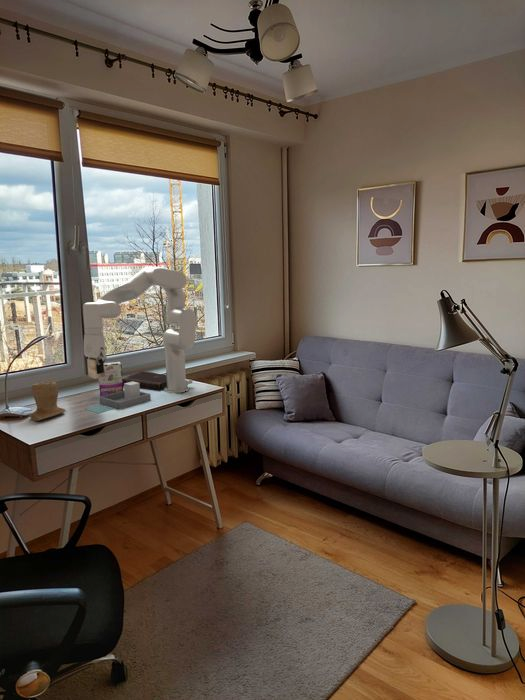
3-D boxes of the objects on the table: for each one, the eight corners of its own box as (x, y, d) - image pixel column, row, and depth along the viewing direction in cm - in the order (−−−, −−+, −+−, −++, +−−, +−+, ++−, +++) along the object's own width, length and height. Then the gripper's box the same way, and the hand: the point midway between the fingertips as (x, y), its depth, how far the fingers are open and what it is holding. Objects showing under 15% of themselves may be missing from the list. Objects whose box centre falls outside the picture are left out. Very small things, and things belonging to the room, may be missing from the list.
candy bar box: (122, 393, 248) (120, 361, 245) (124, 396, 243) (121, 363, 240) (99, 395, 244) (96, 363, 241) (100, 398, 239) (97, 365, 236)
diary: (159, 393, 250) (158, 383, 249) (120, 388, 261) (119, 378, 260) (180, 384, 267) (180, 375, 266) (143, 379, 277) (142, 370, 276)
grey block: (133, 397, 239) (132, 381, 237) (140, 399, 236) (139, 383, 234) (124, 400, 235) (123, 383, 233) (131, 401, 232) (130, 385, 230)
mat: (100, 406, 227) (100, 404, 227) (114, 410, 221) (114, 408, 221) (85, 410, 221) (85, 409, 221) (98, 414, 215) (98, 413, 215)
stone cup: (51, 409, 223) (48, 377, 220) (69, 413, 217) (67, 380, 214) (21, 419, 209) (17, 385, 207) (40, 424, 204) (36, 388, 201)
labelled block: (98, 374, 222) (97, 356, 220) (105, 376, 219) (104, 358, 217) (88, 377, 218) (87, 358, 216) (95, 378, 215) (94, 360, 213)
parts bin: (131, 395, 243) (130, 388, 243) (150, 401, 235) (150, 393, 234) (100, 404, 230) (99, 397, 229) (119, 410, 221) (119, 402, 220)
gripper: (74, 330, 217) (77, 371, 220) (98, 334, 206) (100, 376, 210) (90, 328, 223) (92, 368, 226) (113, 331, 212) (115, 373, 216)
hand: (96, 371), depth 218 cm, fingers closed on labelled block, 5 cm apart
